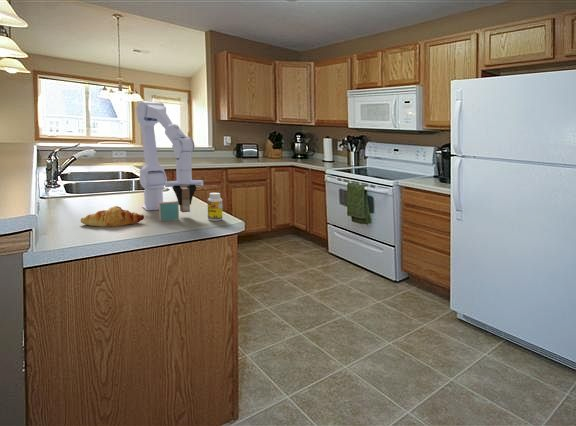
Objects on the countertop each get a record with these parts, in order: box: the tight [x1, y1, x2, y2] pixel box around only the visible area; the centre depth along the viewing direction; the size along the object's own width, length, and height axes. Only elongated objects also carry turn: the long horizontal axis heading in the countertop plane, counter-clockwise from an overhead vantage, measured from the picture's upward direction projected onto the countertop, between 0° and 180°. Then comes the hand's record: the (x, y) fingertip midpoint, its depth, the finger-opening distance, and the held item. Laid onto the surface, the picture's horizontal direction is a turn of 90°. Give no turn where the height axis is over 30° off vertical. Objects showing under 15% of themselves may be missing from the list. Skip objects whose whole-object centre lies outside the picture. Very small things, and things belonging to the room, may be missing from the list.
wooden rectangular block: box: [179, 187, 191, 213], centre depth 160 cm, size 3×3×9 cm
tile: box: [158, 200, 180, 222], centre depth 155 cm, size 1×7×7 cm, turn 120°
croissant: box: [80, 205, 145, 228], centre depth 147 cm, size 21×10×8 cm
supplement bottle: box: [207, 192, 223, 222], centre depth 157 cm, size 6×6×10 cm
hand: (184, 204), depth 160 cm, fingers closed on wooden rectangular block, 3 cm apart
